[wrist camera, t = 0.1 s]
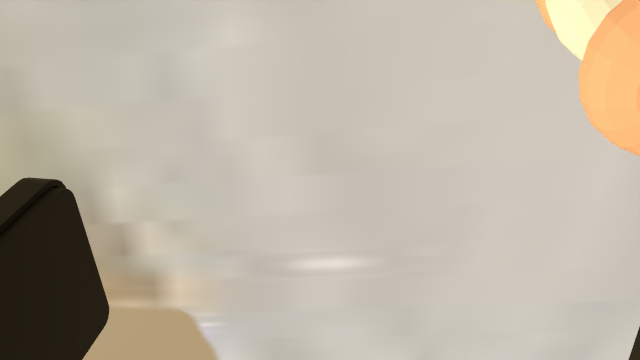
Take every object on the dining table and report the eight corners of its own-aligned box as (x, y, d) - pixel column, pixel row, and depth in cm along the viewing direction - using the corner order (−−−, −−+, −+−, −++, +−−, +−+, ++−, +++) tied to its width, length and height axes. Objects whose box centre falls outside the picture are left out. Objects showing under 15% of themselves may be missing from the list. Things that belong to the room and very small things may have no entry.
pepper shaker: (591, -128, 32) (724, -67, 16) (693, -53, 33) (914, 73, 17) (503, -14, 36) (541, 126, 20) (597, 50, 37) (704, 231, 21)
